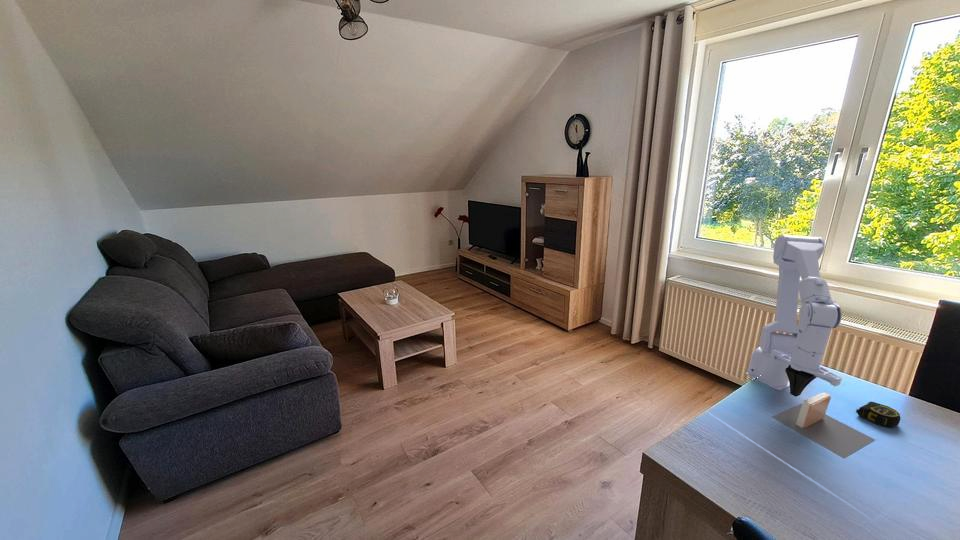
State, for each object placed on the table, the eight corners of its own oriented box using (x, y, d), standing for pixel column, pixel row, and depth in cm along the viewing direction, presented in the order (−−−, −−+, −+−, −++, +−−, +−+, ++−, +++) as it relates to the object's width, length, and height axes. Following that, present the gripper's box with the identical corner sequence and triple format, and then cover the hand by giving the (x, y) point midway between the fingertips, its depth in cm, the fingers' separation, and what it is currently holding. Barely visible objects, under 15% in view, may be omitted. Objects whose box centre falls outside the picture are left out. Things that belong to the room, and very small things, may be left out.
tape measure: (867, 409, 101) (871, 397, 100) (902, 426, 95) (907, 413, 94) (853, 416, 98) (857, 404, 97) (888, 433, 92) (894, 421, 91)
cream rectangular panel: (795, 424, 94) (803, 400, 92) (816, 414, 98) (823, 391, 96) (803, 428, 93) (811, 405, 91) (823, 418, 96) (831, 395, 94)
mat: (771, 418, 97) (771, 416, 97) (802, 404, 103) (803, 402, 102) (843, 459, 84) (844, 458, 84) (875, 441, 90) (875, 439, 89)
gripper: (768, 338, 98) (756, 382, 102) (836, 366, 86) (819, 415, 90) (784, 333, 101) (772, 377, 105) (852, 359, 88) (835, 407, 93)
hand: (795, 394), depth 98 cm, fingers closed
